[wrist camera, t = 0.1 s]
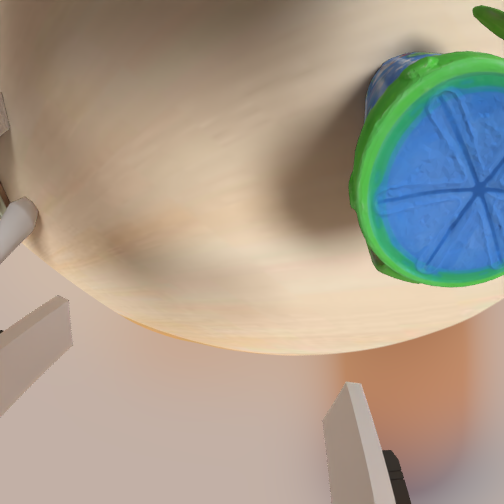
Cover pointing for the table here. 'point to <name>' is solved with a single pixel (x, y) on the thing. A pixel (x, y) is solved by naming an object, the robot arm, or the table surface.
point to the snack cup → (434, 165)
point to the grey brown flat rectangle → (3, 201)
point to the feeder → (3, 117)
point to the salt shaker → (16, 225)
